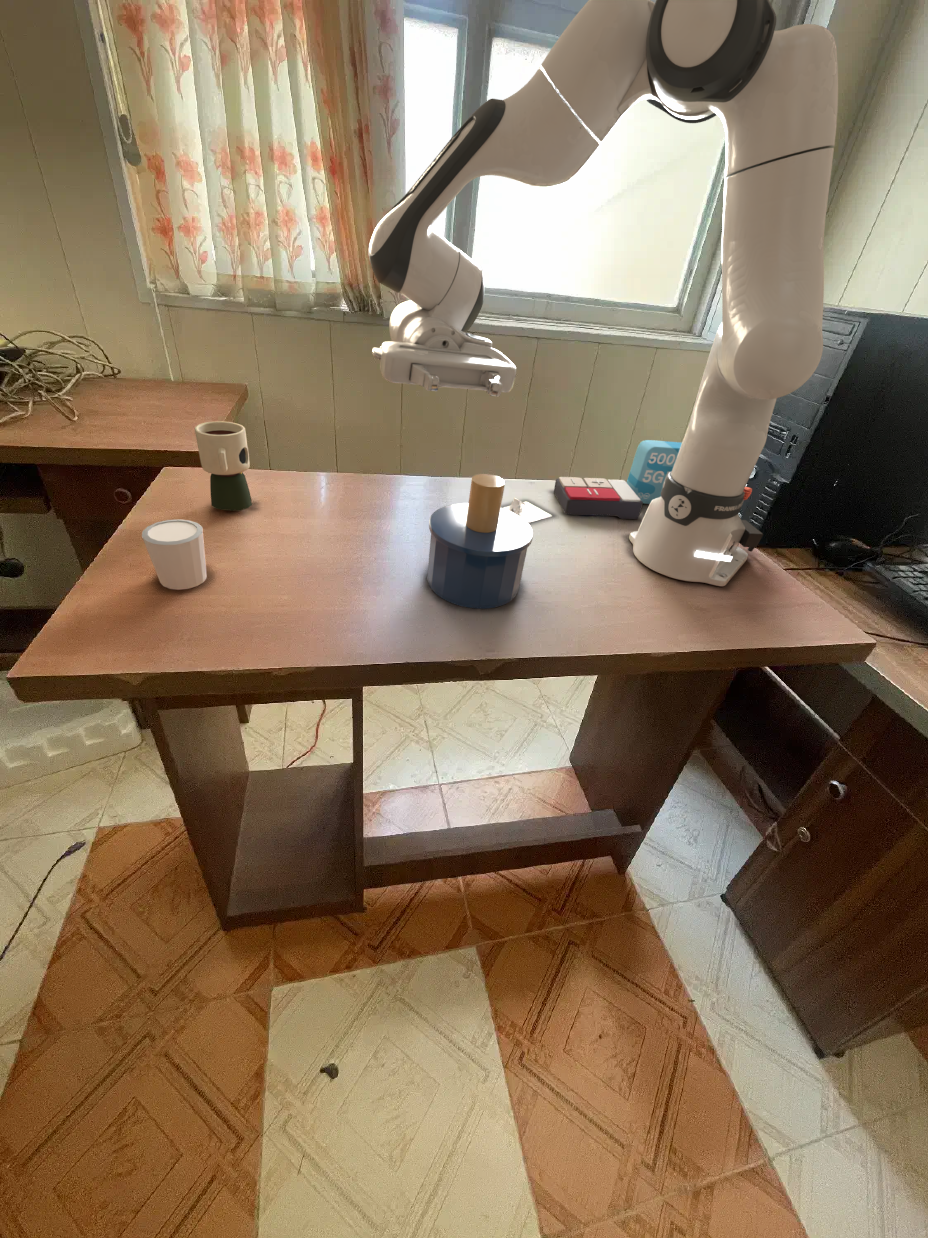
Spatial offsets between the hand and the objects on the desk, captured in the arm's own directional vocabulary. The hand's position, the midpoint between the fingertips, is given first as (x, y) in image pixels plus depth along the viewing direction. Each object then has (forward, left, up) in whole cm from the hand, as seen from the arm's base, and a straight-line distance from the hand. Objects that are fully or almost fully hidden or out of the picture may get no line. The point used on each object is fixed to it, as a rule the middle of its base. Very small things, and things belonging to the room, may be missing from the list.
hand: (466, 388), depth 71 cm
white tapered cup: (+38, -9, -24) cm, 46 cm away
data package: (-52, +5, -24) cm, 58 cm away
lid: (+4, +11, -16) cm, 20 cm away
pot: (+4, +11, -24) cm, 27 cm away
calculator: (-37, +1, -24) cm, 44 cm away
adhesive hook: (-20, -3, -24) cm, 32 cm away
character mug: (+25, -27, -24) cm, 44 cm away
